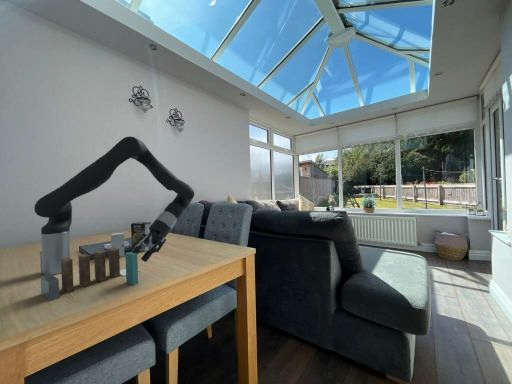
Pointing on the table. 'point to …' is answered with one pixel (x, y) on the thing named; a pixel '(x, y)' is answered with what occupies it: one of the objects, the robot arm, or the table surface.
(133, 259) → the teal domino
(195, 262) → the table surface
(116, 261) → the domino
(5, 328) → the table surface
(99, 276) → the domino
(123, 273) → the slot marker
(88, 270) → the domino
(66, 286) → the domino
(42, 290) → the end stop
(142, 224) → the coffee box
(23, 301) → the table surface
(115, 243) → the skincare box
